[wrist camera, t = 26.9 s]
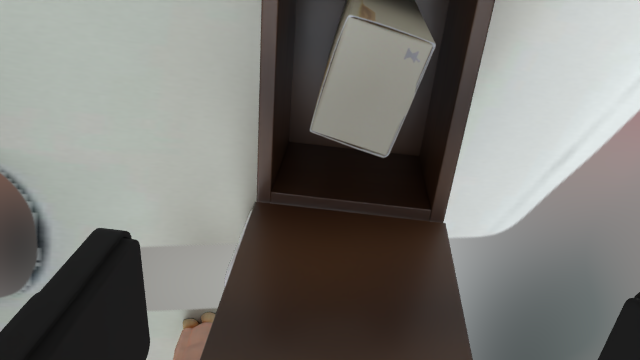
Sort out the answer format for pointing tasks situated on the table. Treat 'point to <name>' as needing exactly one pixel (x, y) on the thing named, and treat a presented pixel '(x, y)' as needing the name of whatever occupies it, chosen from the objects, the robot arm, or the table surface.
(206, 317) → the grandmother figurine
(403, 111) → the cosmetic box
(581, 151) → the table surface
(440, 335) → the lid
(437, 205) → the chest
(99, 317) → the robot arm
